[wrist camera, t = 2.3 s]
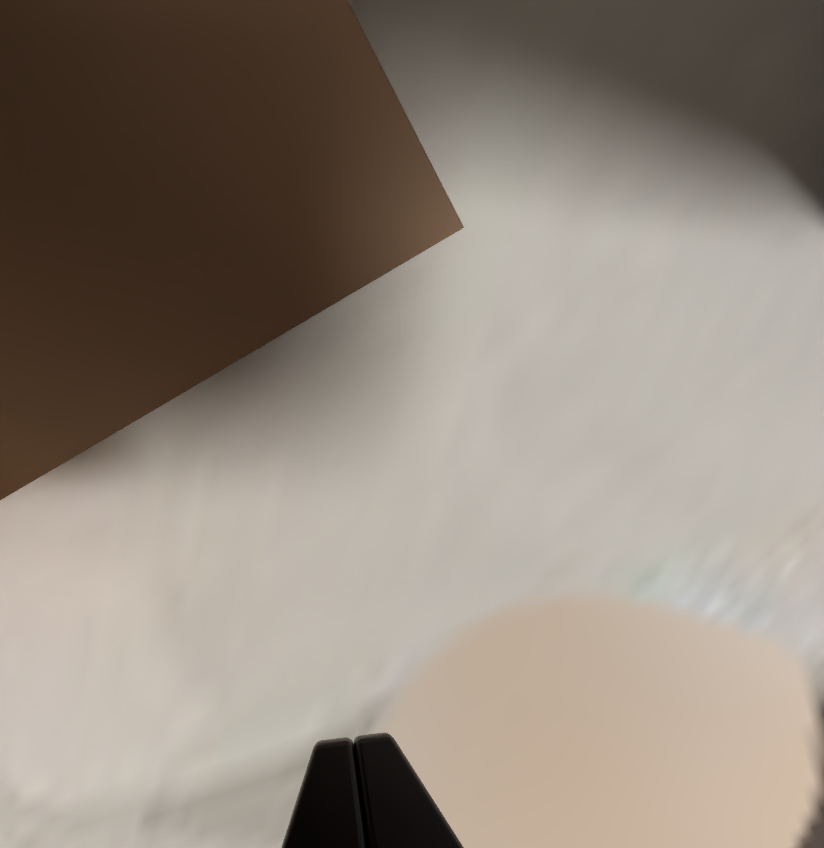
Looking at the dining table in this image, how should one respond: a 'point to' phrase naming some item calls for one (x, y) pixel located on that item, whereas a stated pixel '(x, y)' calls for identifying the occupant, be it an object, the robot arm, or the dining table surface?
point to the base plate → (184, 200)
